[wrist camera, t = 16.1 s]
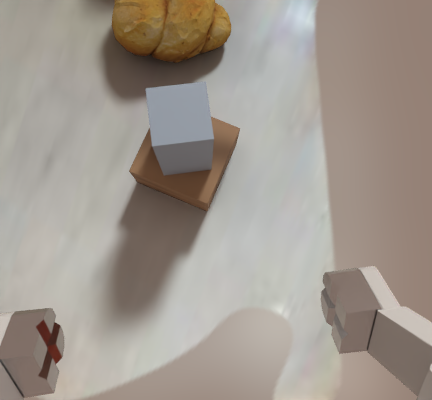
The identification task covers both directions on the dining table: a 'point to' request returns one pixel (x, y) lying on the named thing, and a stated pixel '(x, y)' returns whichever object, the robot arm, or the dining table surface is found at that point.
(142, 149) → the walnut block
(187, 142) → the slate block
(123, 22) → the bread roll
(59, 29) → the dining table surface
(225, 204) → the dining table surface
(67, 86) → the dining table surface
